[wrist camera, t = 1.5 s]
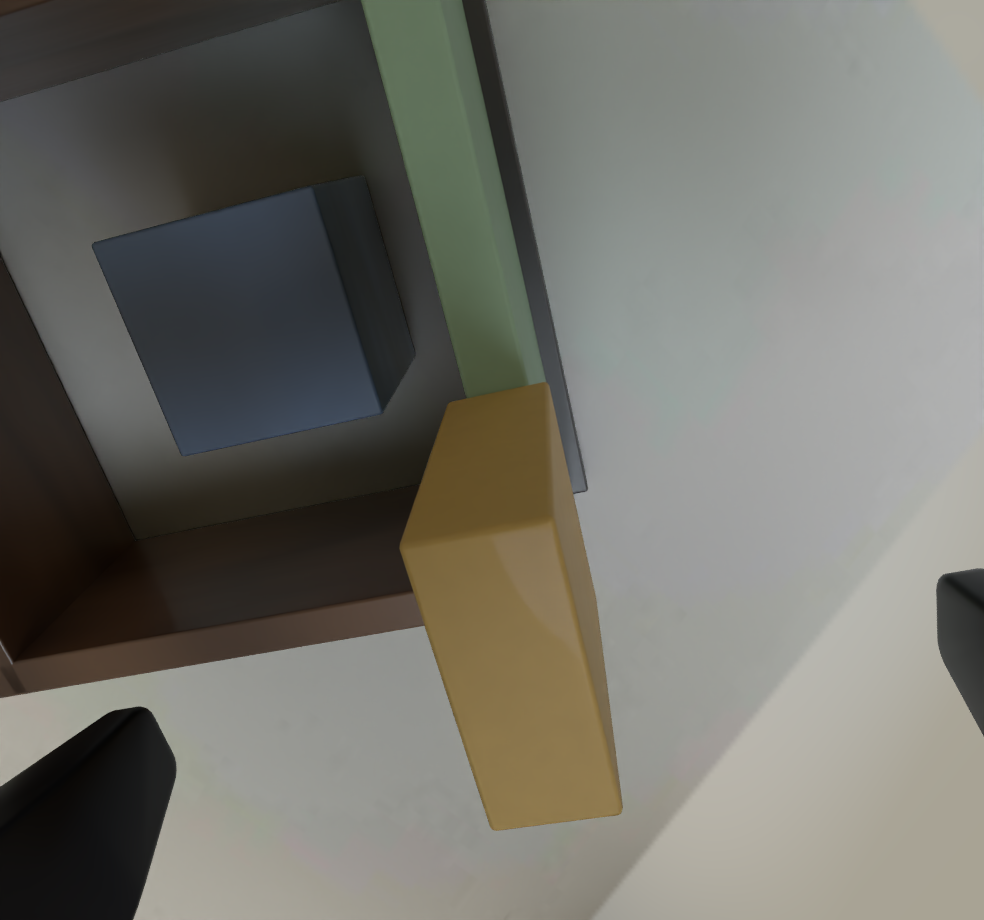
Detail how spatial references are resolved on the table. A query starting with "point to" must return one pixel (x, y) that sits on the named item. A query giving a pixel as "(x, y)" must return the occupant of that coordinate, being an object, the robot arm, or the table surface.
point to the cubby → (214, 549)
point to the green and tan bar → (494, 463)
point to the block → (263, 315)
